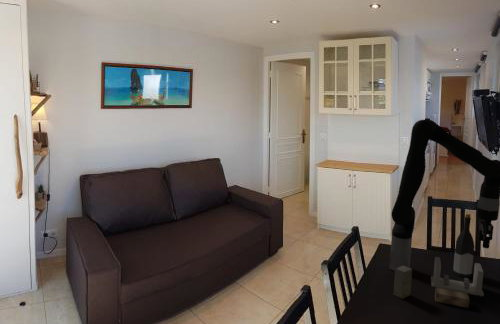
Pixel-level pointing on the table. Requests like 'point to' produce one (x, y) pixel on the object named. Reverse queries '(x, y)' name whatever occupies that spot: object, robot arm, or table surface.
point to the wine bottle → (464, 251)
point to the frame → (458, 285)
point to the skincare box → (402, 281)
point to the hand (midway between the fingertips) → (483, 244)
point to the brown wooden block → (452, 297)
